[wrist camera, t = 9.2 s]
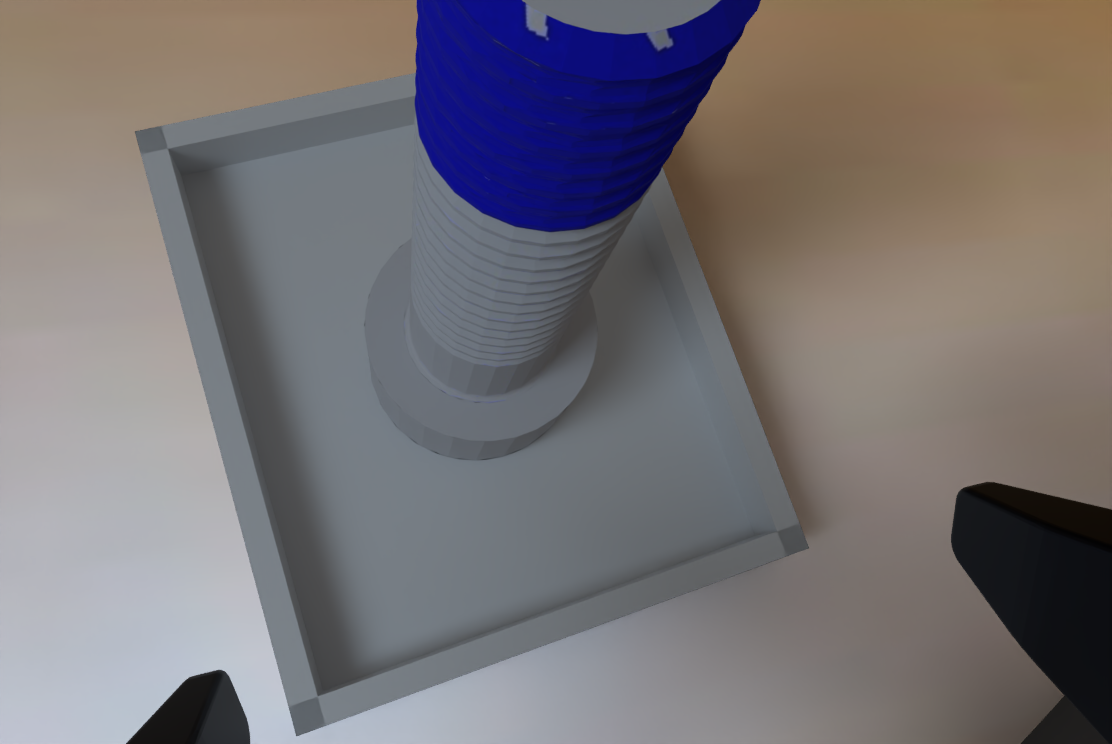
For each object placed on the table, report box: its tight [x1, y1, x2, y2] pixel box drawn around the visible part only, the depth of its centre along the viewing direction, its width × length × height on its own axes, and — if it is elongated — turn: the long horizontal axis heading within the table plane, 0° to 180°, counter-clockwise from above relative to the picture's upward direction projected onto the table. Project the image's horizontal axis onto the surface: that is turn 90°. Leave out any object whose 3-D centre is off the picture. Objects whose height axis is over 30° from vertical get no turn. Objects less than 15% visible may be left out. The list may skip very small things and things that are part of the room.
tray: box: [135, 73, 809, 736], centre depth 22 cm, size 14×12×2 cm
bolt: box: [364, 0, 761, 460], centre depth 15 cm, size 16×5×5 cm
